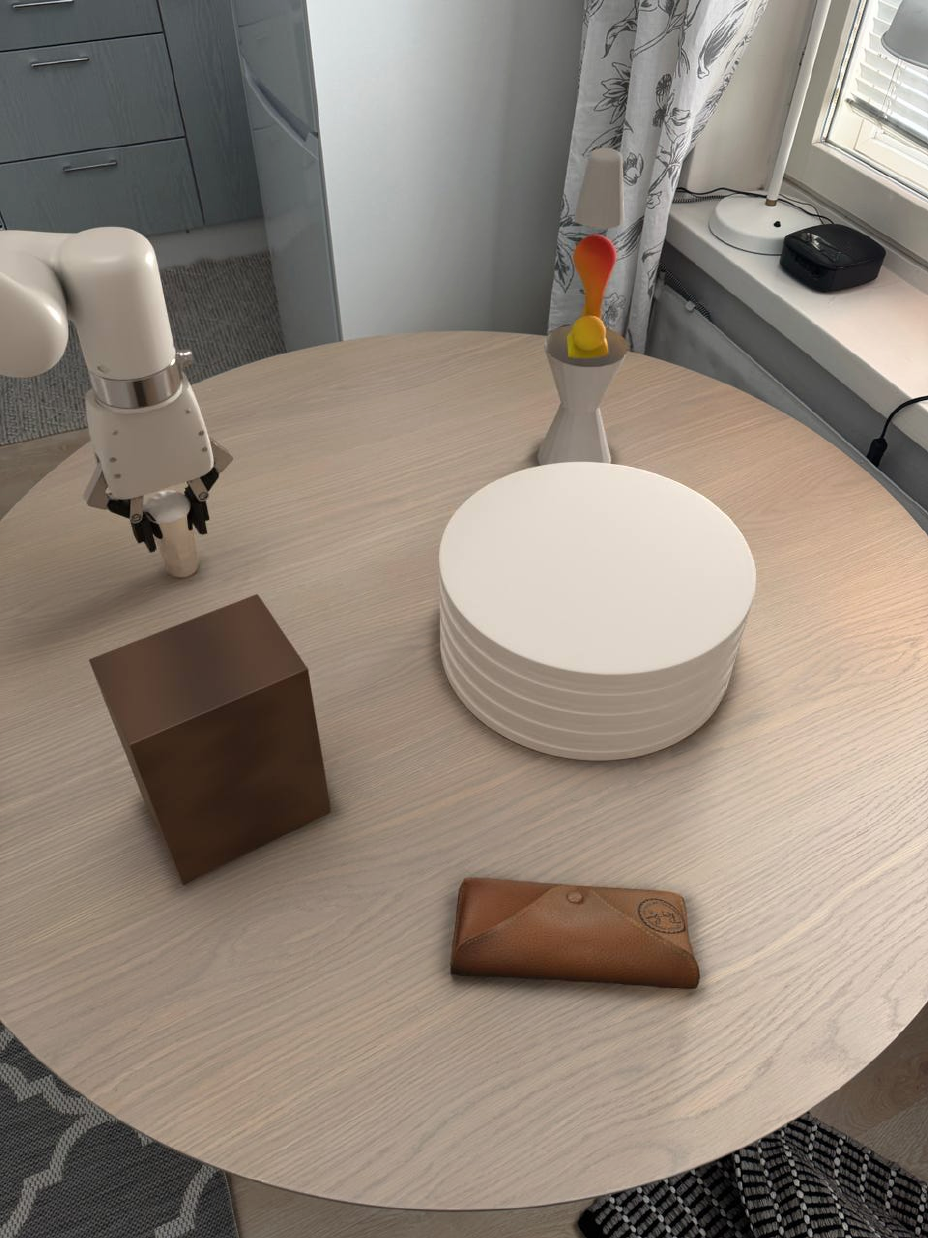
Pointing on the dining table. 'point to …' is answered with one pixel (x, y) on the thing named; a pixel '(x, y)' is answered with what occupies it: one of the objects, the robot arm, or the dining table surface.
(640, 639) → the plate stack
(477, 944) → the sunglasses case
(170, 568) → the milkshake
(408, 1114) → the dining table surface
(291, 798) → the brown box
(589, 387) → the lava lamp
